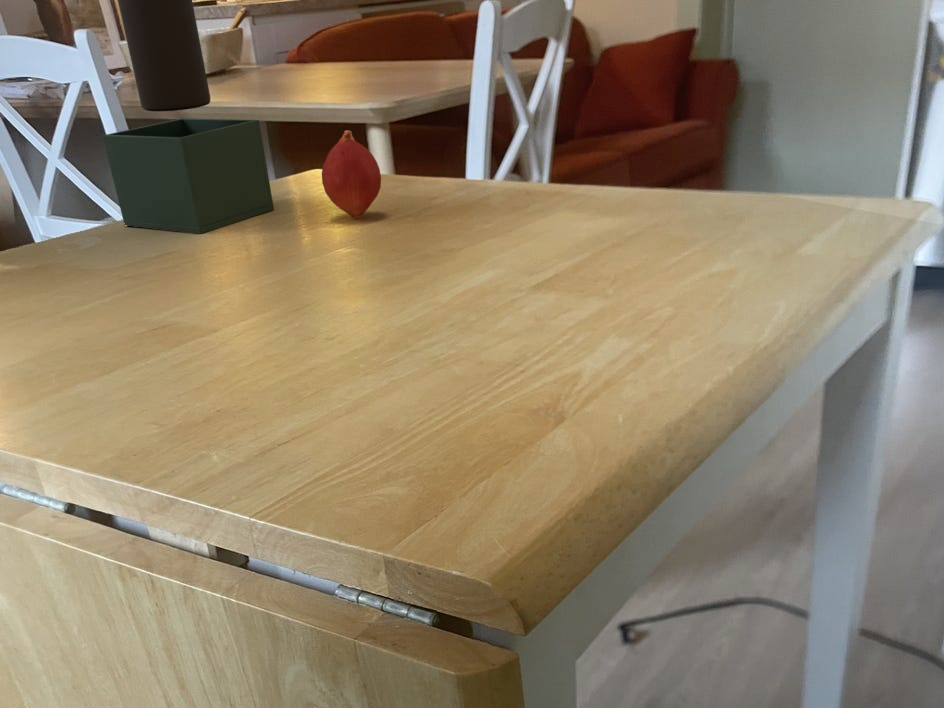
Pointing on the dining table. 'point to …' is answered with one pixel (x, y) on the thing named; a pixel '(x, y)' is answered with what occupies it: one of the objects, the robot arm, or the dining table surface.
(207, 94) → the vinegar
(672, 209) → the dining table surface
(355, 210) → the onion
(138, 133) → the open box
